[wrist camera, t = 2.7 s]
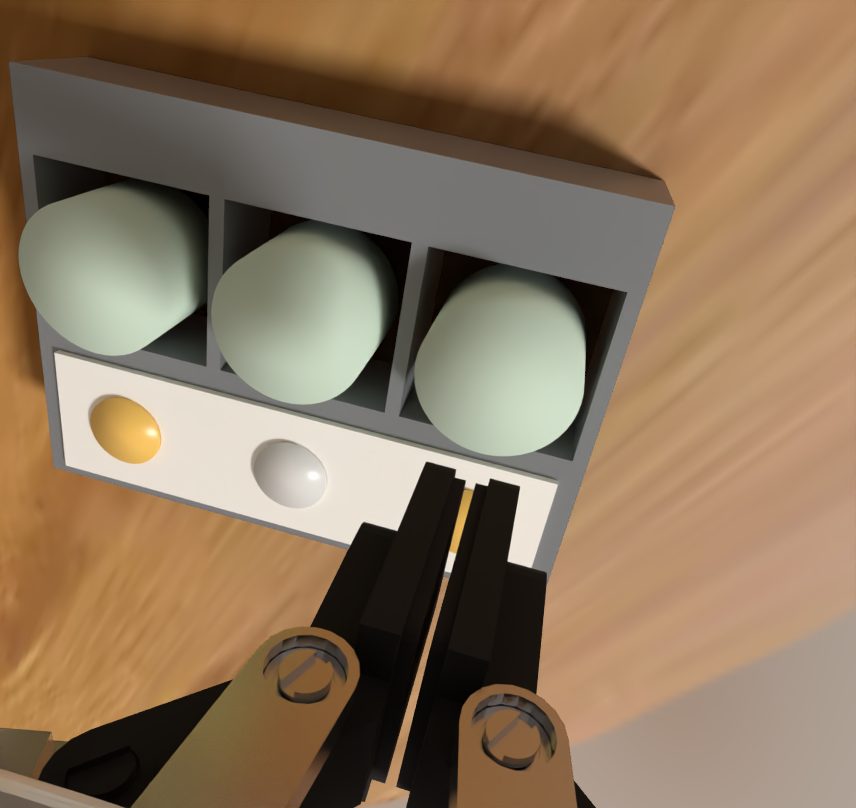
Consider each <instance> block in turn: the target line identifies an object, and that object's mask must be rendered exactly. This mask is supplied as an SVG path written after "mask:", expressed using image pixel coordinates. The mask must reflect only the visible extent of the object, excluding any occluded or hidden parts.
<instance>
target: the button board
mask: <svg viewBox="0 0 856 808" xmlns="http://www.w3.org/2000/svg"><path fill="white" fill-rule="evenodd" d="M8 62H9V71H10V80H11V89H12V98H13V107H14V116H15V125H16V134H17V143H18V152H19V161H20V169H21V178H22V187H23V196H24V205H25V214H26V223H27V222H28V221H29V219H30V218H31V217H32V216H33V215H34V214H35V213H36V212H37V211H39V210H40V209H41V208H43V207H45V206H47V205H49V204H52V203H55V202H58V201H61V200H64V199H67V198H71V197H74V196H77V195H80V194H83V193H86V192H89V191H92V190H95V189H99V188H102V187H105V186H106V172H110V173H115V174H119V175H123V176H127V177H132V178H136V179H140V180H145V181H149V182H153V183H158V184H162V185H166V186H171V187H175V188H179V189H184V190H188V191H192V192H196V193H201V194H205V195H209V247H208V308H207V316H203V315H199V314H195V313H192V314H191V315H189V316H188V317H186V318H185V319H184V320H182V321H181V322H179V323H178V324H176V325H175V326H174V327H172V328H171V329H169V330H168V331H166V332H165V333H164V334H162V335H161V336H159V337H158V338H157V339H155V340H154V341H152V342H151V343H149V344H148V345H147V346H145V347H143V348H142V349H140V350H138V351H136V352H133V353H131V354H126V355H119V356H110V355H102V354H97V353H94V352H91V351H88V350H85V349H83V348H81V347H79V346H77V345H75V344H73V343H72V342H70V341H68V340H67V339H66V338H64V337H63V336H61V335H60V334H59V333H58V332H57V331H56V330H54V329H53V328H52V327H51V326H50V325H49V324H48V323H47V322H46V320H45V319H44V318H43V317H42V315H41V314H40V313H39V312H38V310H37V309H36V313H37V322H38V331H39V340H40V349H41V357H42V366H43V375H44V384H45V393H46V402H47V411H48V420H49V429H50V438H51V447H52V456H53V465H54V468H58V469H61V470H65V471H68V472H72V473H75V474H79V475H83V476H86V477H90V478H93V479H97V480H100V481H104V482H108V483H111V484H115V485H118V486H122V487H125V488H129V489H133V490H136V491H140V492H143V493H147V494H150V495H154V496H158V497H161V498H165V499H168V500H172V501H175V502H179V503H183V504H186V505H190V506H193V507H197V508H200V509H204V510H208V511H211V512H215V513H218V514H222V515H225V516H229V517H233V518H236V519H240V520H243V521H247V522H250V523H254V524H258V525H261V526H265V527H268V528H272V529H275V530H279V531H283V532H286V533H290V534H293V535H297V536H300V537H304V538H308V539H311V540H315V541H318V542H322V543H325V544H329V545H333V546H336V547H340V548H343V549H347V550H348V549H349V547H350V545H351V543H352V541H353V539H354V537H355V535H356V533H357V531H358V529H359V527H360V526H361V524H362V523H363V522H367V523H370V524H374V525H378V526H381V527H385V528H389V529H392V530H396V531H398V528H399V526H400V523H401V521H402V518H403V516H404V514H405V511H406V509H407V506H408V504H409V501H410V499H411V497H412V494H413V492H414V489H415V487H416V484H417V482H418V480H419V477H420V475H421V472H422V470H423V467H424V465H425V463H426V462H431V463H435V464H438V465H442V466H446V467H450V468H454V469H456V475H455V478H459V479H463V480H466V484H465V488H464V492H463V496H462V501H461V505H460V509H459V513H458V517H457V521H456V525H455V530H454V534H453V538H452V542H451V546H450V550H449V554H448V559H447V563H446V567H445V571H444V575H443V577H447V578H450V574H451V571H452V567H453V564H454V560H455V556H456V553H457V549H458V546H459V542H460V538H461V535H462V531H463V528H464V524H465V520H466V517H467V513H468V509H469V506H470V502H471V499H472V495H473V491H474V488H475V484H476V483H478V484H481V485H485V486H488V484H489V480H490V478H491V479H495V480H499V481H503V482H506V483H510V484H514V485H518V486H520V492H519V498H518V503H517V509H516V515H515V521H514V527H513V532H512V538H511V544H510V550H509V555H508V562H511V563H515V564H519V565H522V566H526V567H529V568H533V569H537V570H540V571H544V572H546V573H547V583H548V580H549V577H550V574H551V571H552V568H553V565H554V562H555V559H556V557H557V554H558V551H559V548H560V545H561V542H562V539H563V536H564V533H565V530H566V527H567V524H568V521H569V518H570V515H571V512H572V509H573V506H574V503H575V501H576V498H577V495H578V492H579V489H580V486H581V483H582V480H583V477H584V474H585V471H586V468H587V465H588V462H589V459H590V456H591V453H592V450H593V448H594V445H595V442H596V439H597V436H598V433H599V430H600V427H601V424H602V421H603V418H604V415H605V412H606V409H607V406H608V403H609V400H610V397H611V394H612V392H613V389H614V386H615V383H616V380H617V377H618V374H619V371H620V368H621V365H622V362H623V359H624V356H625V353H626V350H627V347H628V344H629V341H630V339H631V336H632V333H633V330H634V327H635V324H636V321H637V318H638V315H639V312H640V309H641V306H642V303H643V300H644V297H645V294H646V291H647V288H648V286H649V283H650V280H651V277H652V274H653V271H654V268H655V265H656V262H657V259H658V256H659V253H660V250H661V247H662V244H663V241H664V238H665V235H666V232H667V230H668V227H669V224H670V221H671V218H672V215H673V212H674V209H675V205H674V202H673V200H672V197H671V195H670V193H669V190H668V188H667V186H666V183H665V181H663V180H658V179H654V178H649V177H644V176H640V175H635V174H630V173H626V172H621V171H616V170H612V169H607V168H602V167H598V166H593V165H588V164H584V163H579V162H574V161H570V160H565V159H560V158H556V157H551V156H547V155H542V154H537V153H533V152H528V151H523V150H519V149H514V148H509V147H505V146H500V145H495V144H491V143H486V142H481V141H477V140H472V139H467V138H463V137H458V136H453V135H449V134H444V133H439V132H435V131H430V130H425V129H421V128H416V127H411V126H407V125H402V124H397V123H393V122H388V121H383V120H379V119H374V118H370V117H365V116H360V115H356V114H351V113H346V112H342V111H337V110H332V109H328V108H323V107H318V106H314V105H309V104H304V103H300V102H295V101H290V100H286V99H281V98H276V97H272V96H267V95H262V94H258V93H253V92H248V91H244V90H239V89H234V88H230V87H225V86H220V85H216V84H211V83H207V82H202V81H197V80H193V79H188V78H183V77H179V76H174V75H169V74H165V73H160V72H155V71H151V70H146V69H141V68H137V67H132V66H127V65H123V64H118V63H113V62H109V61H104V60H99V59H95V58H90V57H72V58H54V59H36V60H19V61H8ZM271 210H274V211H278V212H283V213H287V214H291V215H296V216H300V217H304V218H309V219H313V220H317V221H322V222H326V223H330V224H334V225H339V226H343V227H347V228H352V229H356V230H360V231H365V232H369V233H373V234H378V235H382V236H386V237H391V238H395V239H399V240H403V241H408V242H412V246H411V252H410V258H409V264H408V271H407V277H406V283H405V289H404V295H403V302H402V308H401V314H400V320H399V326H398V333H397V339H396V345H395V351H394V358H393V363H390V362H386V361H382V360H378V359H374V358H370V360H369V361H368V362H367V364H366V365H365V367H364V368H363V370H362V371H361V373H360V374H359V375H358V377H357V378H356V379H355V381H354V382H353V383H352V385H350V386H349V387H348V388H347V389H346V390H345V391H344V392H342V393H341V394H339V395H338V396H336V397H334V398H332V399H330V400H327V401H324V402H321V403H315V404H304V405H301V404H291V403H286V402H282V401H278V400H275V399H272V398H270V397H268V396H266V395H264V394H262V393H260V392H258V391H257V390H255V389H254V388H252V387H251V386H250V385H248V384H247V383H246V382H245V381H243V380H242V379H241V378H240V377H239V376H238V375H237V374H236V373H235V372H234V370H233V369H232V368H231V367H230V365H229V364H228V363H227V361H226V360H225V358H224V356H223V355H222V353H221V351H220V349H219V346H218V344H217V342H216V339H215V335H214V332H213V327H212V319H211V308H212V300H213V296H214V292H215V290H216V287H217V285H218V283H219V281H220V279H221V278H222V276H223V275H224V273H225V272H226V271H227V270H228V269H229V268H230V267H231V266H232V265H233V264H234V263H235V262H237V261H238V260H240V259H242V258H243V257H245V256H246V255H248V254H249V253H251V252H252V251H254V250H255V249H257V248H259V247H260V246H262V245H263V244H265V243H266V242H268V241H269V232H270V215H271ZM445 250H447V251H451V252H455V253H460V254H464V255H468V256H473V257H477V258H481V259H485V260H490V261H494V262H498V263H503V264H507V265H511V266H516V267H520V268H524V269H529V270H533V271H537V272H542V273H546V274H550V275H554V276H559V277H563V278H567V279H572V280H576V281H580V282H585V283H589V284H593V285H598V286H602V287H606V288H611V289H613V292H612V296H611V299H610V302H609V305H608V308H607V312H606V315H605V318H604V321H603V324H602V327H601V331H600V334H599V337H598V340H597V343H596V347H595V350H594V353H593V356H592V359H591V362H590V366H589V369H588V372H587V375H586V378H585V382H584V394H583V399H582V403H581V406H580V408H579V411H578V413H577V415H576V417H575V419H574V420H573V422H572V423H571V425H570V426H569V427H568V428H567V430H566V431H565V432H564V433H563V434H562V435H561V436H560V437H558V438H557V439H556V440H554V441H553V442H552V443H550V444H548V445H546V446H545V447H543V448H541V449H538V450H536V451H533V452H530V453H526V454H522V455H515V456H492V455H486V454H481V453H478V452H475V451H471V450H469V449H467V448H464V447H462V446H460V445H458V444H457V443H455V442H453V441H451V440H450V439H449V438H447V437H446V436H445V435H443V434H442V433H441V432H440V431H439V430H438V429H437V428H436V427H435V426H434V425H433V423H432V422H431V421H430V420H429V418H428V417H427V415H426V414H425V412H424V410H423V408H422V406H421V404H420V402H419V399H418V396H417V393H416V387H415V379H414V371H415V362H416V358H417V354H418V351H419V349H420V347H421V344H422V342H423V341H424V339H425V337H426V335H427V334H428V332H429V330H430V327H431V321H432V316H433V310H434V305H435V300H436V294H437V289H438V283H439V278H440V273H441V267H442V262H443V256H444V251H445ZM546 586H547V584H546Z"/></svg>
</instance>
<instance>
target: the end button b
mask: <svg viewBox="0 0 856 808" xmlns="http://www.w3.org/2000/svg"><path fill="white" fill-rule="evenodd" d="M585 358H586V324H585V319H584V315H583V313H582V310H581V307H580V305H579V304H578V302H577V300H576V298H575V297H574V295H573V294H572V293H571V291H570V290H569V289H568V288H567V287H566V286H565V285H564V284H563V283H562V282H560V281H559V280H558V279H557V278H555V277H554V276H552V275H550V274H546V273H542V272H537V271H533V270H529V269H524V268H520V267H516V266H511V265H507V264H498V265H493V266H489V267H486V268H483V269H481V270H478V271H476V272H474V273H473V274H471V275H469V276H468V277H466V278H465V279H464V280H462V281H461V282H460V283H459V284H458V285H457V286H456V287H455V288H454V290H453V291H452V292H451V293H450V295H449V296H448V298H447V300H446V301H445V303H444V305H443V307H442V309H441V310H440V312H439V314H438V316H437V317H436V319H435V321H434V323H433V325H432V326H431V328H430V330H429V332H428V334H427V335H426V337H425V339H424V341H423V342H422V344H421V347H420V349H419V351H418V354H417V358H416V362H415V371H414V379H415V387H416V393H417V396H418V399H419V402H420V404H421V406H422V408H423V410H424V412H425V414H426V415H427V417H428V418H429V420H430V421H431V422H432V423H433V425H434V426H435V427H436V428H437V429H438V430H439V431H440V432H441V433H442V434H443V435H445V436H446V437H447V438H449V439H450V440H451V441H453V442H455V443H457V444H458V445H460V446H462V447H464V448H467V449H469V450H471V451H475V452H478V453H481V454H486V455H492V456H515V455H522V454H526V453H530V452H533V451H536V450H538V449H541V448H543V447H545V446H546V445H548V444H550V443H552V442H553V441H554V440H556V439H557V438H558V437H560V436H561V435H562V434H563V433H564V432H565V431H566V430H567V428H568V427H569V426H570V425H571V423H572V422H573V420H574V419H575V417H576V415H577V413H578V411H579V408H580V406H581V403H582V399H583V394H584V382H585Z"/></svg>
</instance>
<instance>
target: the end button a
mask: <svg viewBox="0 0 856 808" xmlns="http://www.w3.org/2000/svg"><path fill="white" fill-rule="evenodd" d="M208 247H209V220H208V219H207V217H206V216H205V214H204V213H203V211H202V210H201V209H200V208H199V207H198V206H197V204H196V203H195V202H194V201H193V200H192V199H190V198H189V197H188V196H187V195H186V194H184V193H183V192H182V191H180V190H179V189H177V188H175V187H171V186H166V185H162V184H158V183H153V182H149V181H145V180H140V179H136V178H131V179H127V180H123V181H120V182H117V183H114V184H111V185H108V186H105V187H102V188H99V189H95V190H92V191H89V192H86V193H83V194H80V195H77V196H74V197H71V198H67V199H64V200H61V201H58V202H55V203H52V204H49V205H47V206H45V207H43V208H41V209H40V210H39V211H37V212H36V213H35V214H34V215H33V216H32V217H31V218H30V219H29V221H28V222H27V224H26V226H25V227H24V230H23V232H22V235H21V239H20V243H19V254H18V255H19V266H20V272H21V276H22V280H23V283H24V286H25V288H26V290H27V293H28V295H29V297H30V299H31V301H32V302H33V304H34V306H35V307H36V309H37V310H38V312H39V313H40V314H41V315H42V317H43V318H44V319H45V320H46V322H47V323H48V324H49V325H50V326H51V327H52V328H53V329H54V330H56V331H57V332H58V333H59V334H60V335H61V336H63V337H64V338H66V339H67V340H68V341H70V342H72V343H73V344H75V345H77V346H79V347H81V348H83V349H85V350H88V351H91V352H94V353H97V354H102V355H110V356H119V355H126V354H131V353H133V352H136V351H138V350H140V349H142V348H143V347H145V346H147V345H148V344H149V343H151V342H152V341H154V340H155V339H157V338H158V337H159V336H161V335H162V334H164V333H165V332H166V331H168V330H169V329H171V328H172V327H174V326H175V325H176V324H178V323H179V322H181V321H182V320H184V319H185V318H186V317H188V316H189V315H191V314H192V313H194V312H195V311H196V310H198V309H199V308H201V307H202V306H203V305H204V304H205V303H207V302H208Z"/></svg>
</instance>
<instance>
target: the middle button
mask: <svg viewBox="0 0 856 808" xmlns="http://www.w3.org/2000/svg"><path fill="white" fill-rule="evenodd" d="M397 309H398V287H397V281H396V278H395V275H394V272H393V269H392V267H391V265H390V263H389V261H388V259H387V258H386V256H385V255H384V253H383V252H382V251H381V249H380V248H379V247H378V246H377V245H376V244H375V243H374V242H373V241H372V240H371V239H370V238H369V237H367V236H366V235H365V234H364V233H362V232H360V231H359V230H356V229H352V228H347V227H343V226H339V225H334V224H330V223H326V222H322V221H317V220H308V221H304V222H301V223H298V224H296V225H293V226H291V227H290V228H288V229H287V230H285V231H283V232H282V233H280V234H279V235H277V236H276V237H274V238H273V239H271V240H269V241H268V242H266V243H265V244H263V245H262V246H260V247H259V248H257V249H255V250H254V251H252V252H251V253H249V254H248V255H246V256H245V257H243V258H242V259H240V260H238V261H237V262H235V263H234V264H233V265H232V266H231V267H230V268H229V269H228V270H227V271H226V272H225V273H224V275H223V276H222V278H221V279H220V281H219V283H218V285H217V287H216V290H215V292H214V296H213V300H212V308H211V319H212V327H213V332H214V335H215V339H216V342H217V344H218V346H219V349H220V351H221V353H222V355H223V356H224V358H225V360H226V361H227V363H228V364H229V365H230V367H231V368H232V369H233V370H234V372H235V373H236V374H237V375H238V376H239V377H240V378H241V379H242V380H243V381H245V382H246V383H247V384H248V385H250V386H251V387H252V388H254V389H255V390H257V391H258V392H260V393H262V394H264V395H266V396H268V397H270V398H272V399H275V400H278V401H282V402H286V403H291V404H301V405H304V404H315V403H321V402H324V401H327V400H330V399H332V398H334V397H336V396H338V395H339V394H341V393H342V392H344V391H345V390H346V389H347V388H348V387H349V386H350V385H352V383H353V382H354V381H355V379H356V378H357V377H358V375H359V374H360V373H361V371H362V370H363V368H364V367H365V365H366V364H367V362H368V361H369V360H370V358H371V357H372V355H373V354H374V352H375V351H376V349H377V348H378V347H379V345H380V344H381V342H382V341H383V339H384V338H385V336H386V335H387V334H388V332H389V330H390V329H391V327H392V325H393V323H394V320H395V317H396V313H397Z"/></svg>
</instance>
